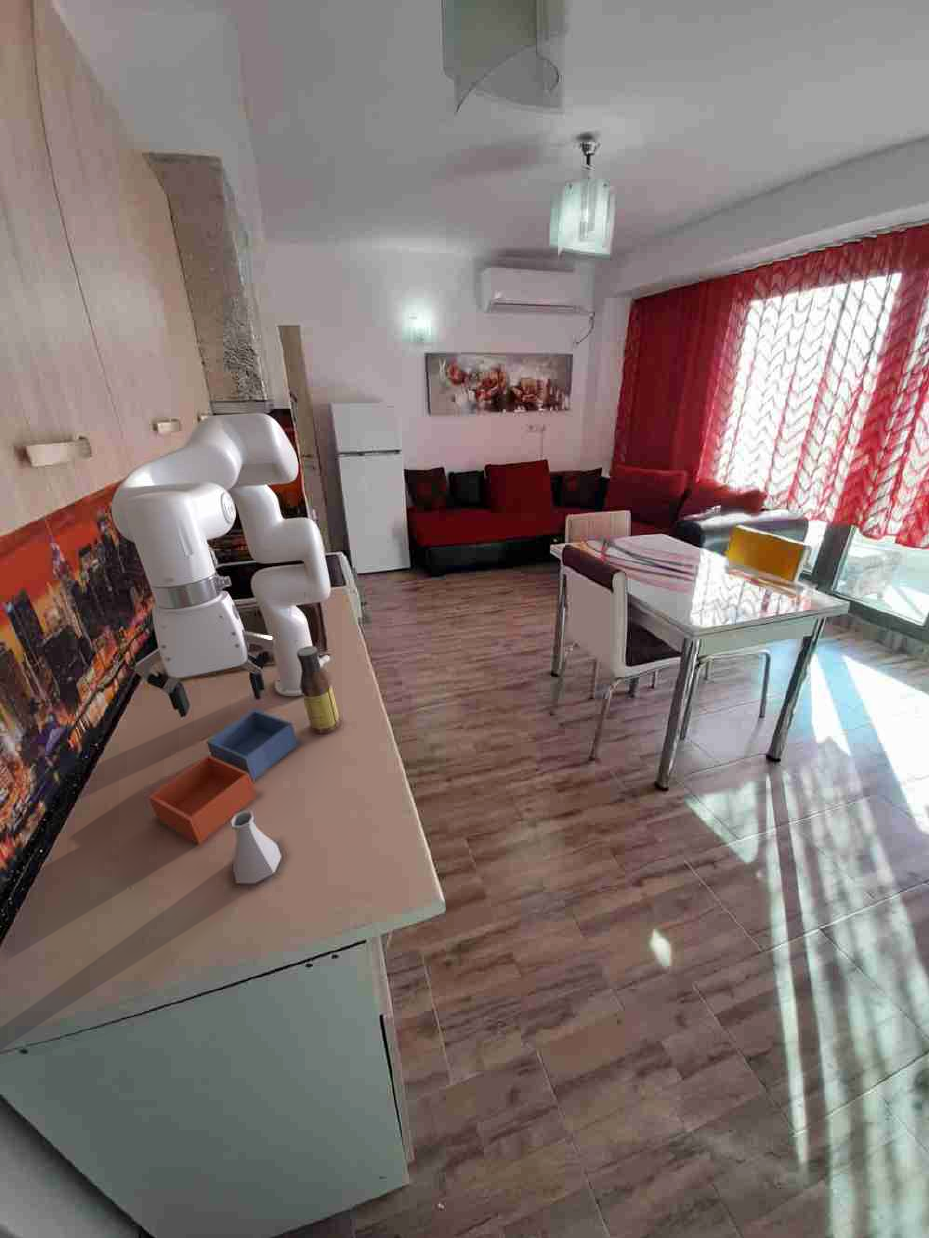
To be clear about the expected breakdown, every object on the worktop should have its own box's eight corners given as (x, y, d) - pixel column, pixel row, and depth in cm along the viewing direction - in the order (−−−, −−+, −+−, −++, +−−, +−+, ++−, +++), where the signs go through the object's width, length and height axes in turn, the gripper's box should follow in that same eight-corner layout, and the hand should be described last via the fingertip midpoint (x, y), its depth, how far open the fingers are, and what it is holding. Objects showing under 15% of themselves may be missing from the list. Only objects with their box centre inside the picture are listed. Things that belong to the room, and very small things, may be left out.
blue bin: (260, 729, 106) (254, 709, 104) (297, 744, 101) (292, 723, 99) (214, 763, 97) (206, 741, 95) (252, 781, 92) (245, 758, 89)
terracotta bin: (216, 776, 93) (208, 754, 91) (256, 796, 88) (249, 773, 86) (158, 819, 84) (147, 796, 82) (199, 844, 79) (189, 820, 77)
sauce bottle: (324, 715, 110) (307, 639, 101) (345, 721, 107) (330, 644, 99) (304, 732, 105) (285, 654, 96) (326, 738, 102) (308, 659, 94)
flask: (229, 891, 71) (210, 844, 67) (237, 851, 77) (220, 806, 73) (279, 877, 73) (264, 831, 68) (283, 839, 79) (269, 795, 75)
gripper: (259, 572, 67) (285, 676, 74) (118, 594, 62) (160, 704, 68) (258, 588, 60) (286, 701, 67) (100, 614, 55) (148, 734, 62)
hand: (222, 702), depth 68 cm, fingers open, 9 cm apart
